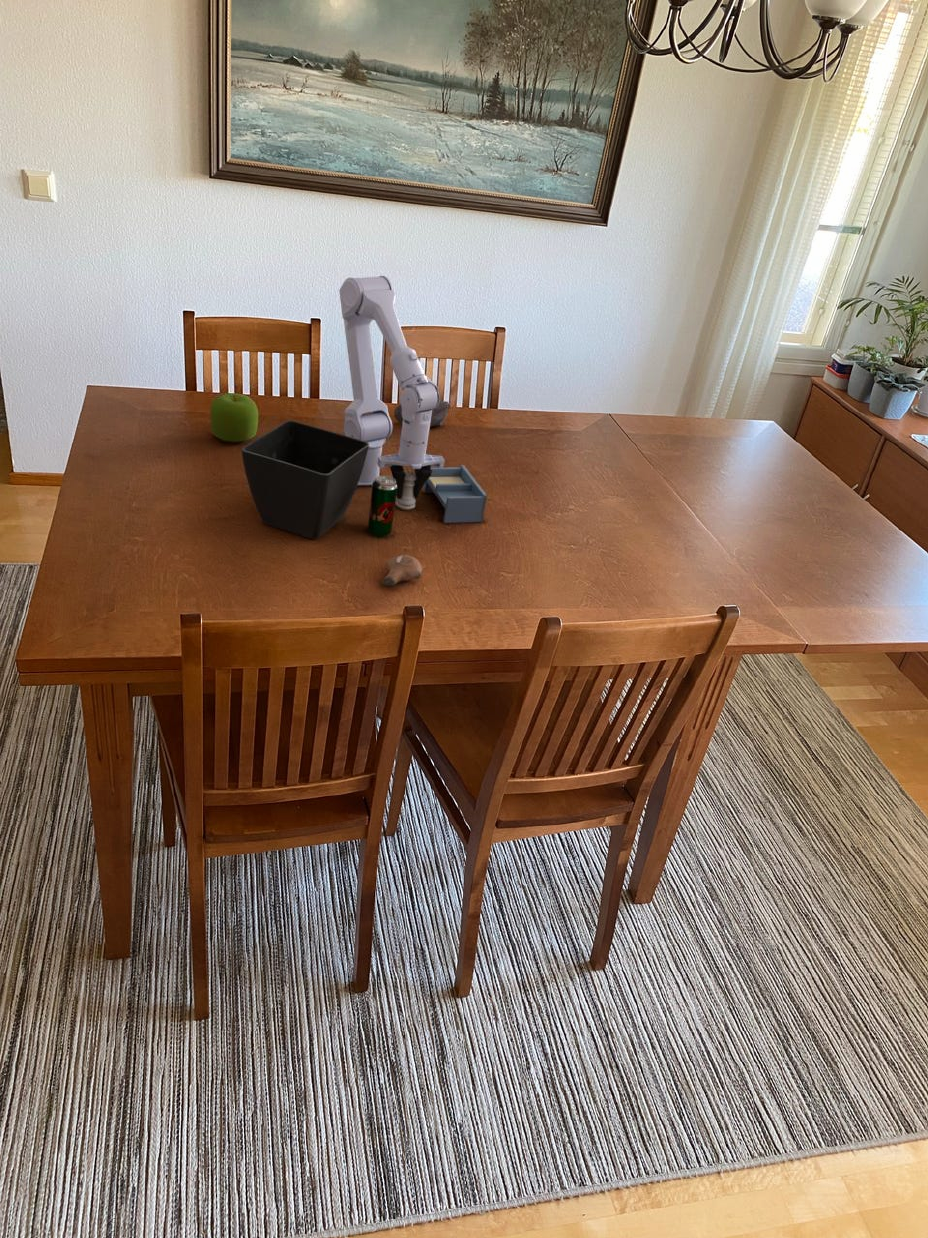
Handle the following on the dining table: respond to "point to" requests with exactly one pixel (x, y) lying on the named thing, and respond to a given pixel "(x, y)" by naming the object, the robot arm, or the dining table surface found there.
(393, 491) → the soda can
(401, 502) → the rook chess piece
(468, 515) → the blue open tray
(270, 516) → the flower pot
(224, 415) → the apple
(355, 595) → the dining table surface
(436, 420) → the perforated stone tool
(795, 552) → the dining table surface
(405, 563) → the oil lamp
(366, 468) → the robot arm
